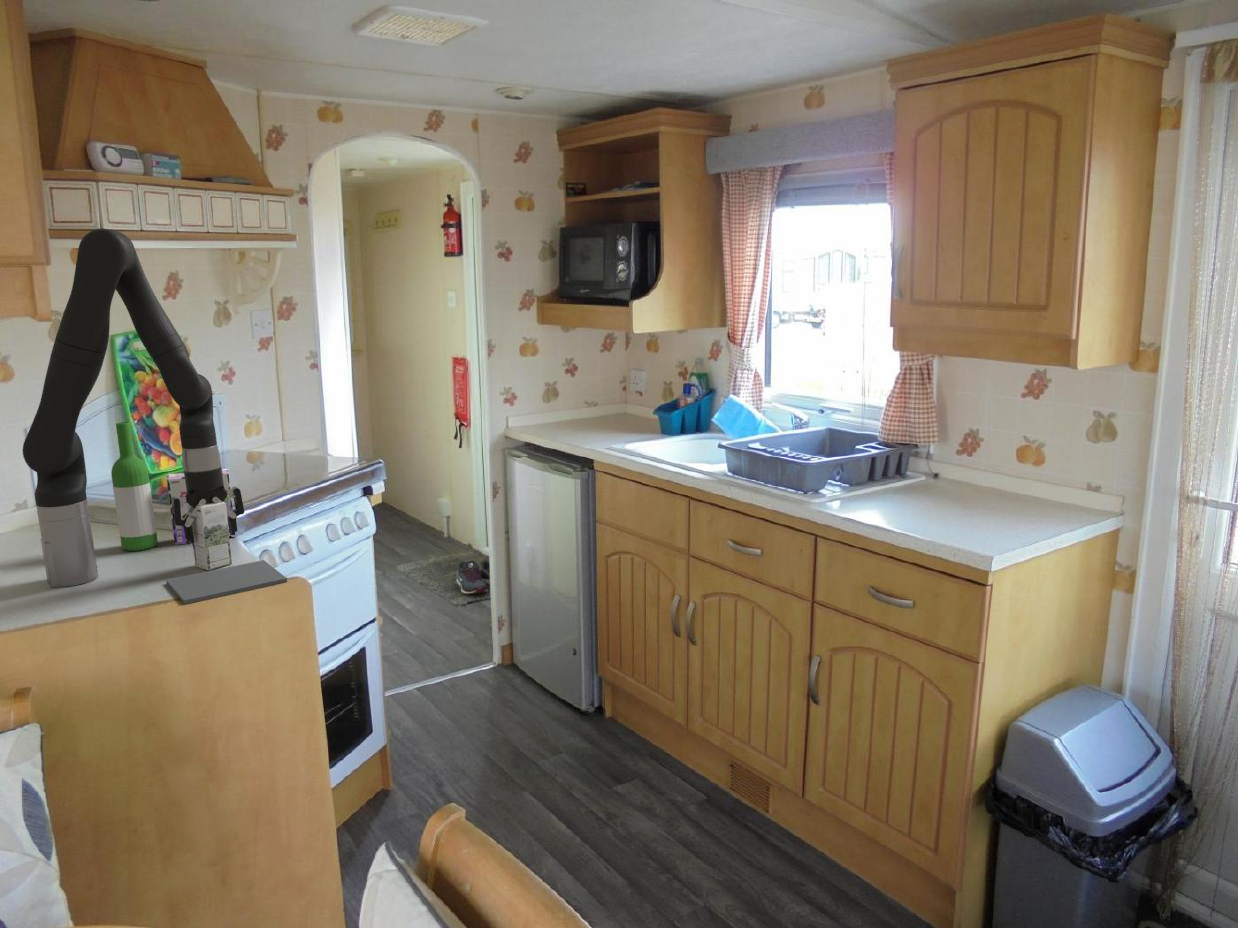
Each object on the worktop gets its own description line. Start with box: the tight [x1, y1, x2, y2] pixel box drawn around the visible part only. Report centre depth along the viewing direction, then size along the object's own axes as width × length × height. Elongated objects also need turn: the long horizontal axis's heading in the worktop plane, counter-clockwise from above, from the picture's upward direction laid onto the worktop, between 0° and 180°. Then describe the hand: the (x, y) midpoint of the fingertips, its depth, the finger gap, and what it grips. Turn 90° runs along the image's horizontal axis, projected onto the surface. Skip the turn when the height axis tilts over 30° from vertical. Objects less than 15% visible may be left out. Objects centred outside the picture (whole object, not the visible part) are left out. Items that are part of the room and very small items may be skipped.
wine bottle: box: [111, 421, 158, 552], centre depth 220 cm, size 8×8×30 cm
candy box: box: [166, 468, 234, 546], centre depth 227 cm, size 14×6×16 cm, turn 114°
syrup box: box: [188, 502, 233, 572], centre depth 206 cm, size 6×6×14 cm
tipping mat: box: [166, 559, 288, 605], centre depth 196 cm, size 20×16×1 cm
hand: (212, 538), depth 207 cm, fingers open, 8 cm apart
